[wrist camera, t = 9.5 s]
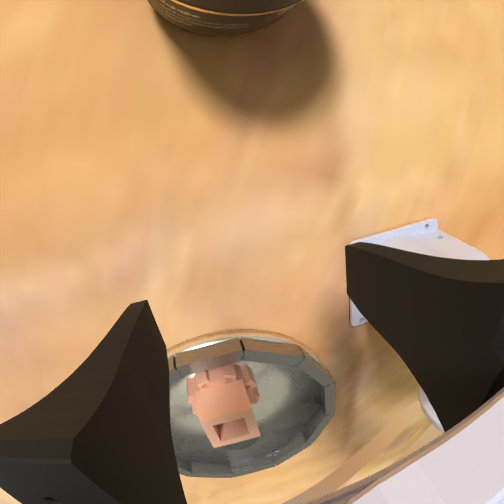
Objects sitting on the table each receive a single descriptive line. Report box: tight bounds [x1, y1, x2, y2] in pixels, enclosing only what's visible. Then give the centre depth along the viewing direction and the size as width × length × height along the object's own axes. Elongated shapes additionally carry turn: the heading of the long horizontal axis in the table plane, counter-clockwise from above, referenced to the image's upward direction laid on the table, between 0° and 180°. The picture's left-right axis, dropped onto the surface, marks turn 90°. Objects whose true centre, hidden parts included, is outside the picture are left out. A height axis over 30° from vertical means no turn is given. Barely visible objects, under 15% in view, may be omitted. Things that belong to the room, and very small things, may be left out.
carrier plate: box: [167, 329, 335, 478], centre depth 25 cm, size 19×19×5 cm
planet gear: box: [186, 363, 261, 448], centre depth 22 cm, size 5×5×5 cm
